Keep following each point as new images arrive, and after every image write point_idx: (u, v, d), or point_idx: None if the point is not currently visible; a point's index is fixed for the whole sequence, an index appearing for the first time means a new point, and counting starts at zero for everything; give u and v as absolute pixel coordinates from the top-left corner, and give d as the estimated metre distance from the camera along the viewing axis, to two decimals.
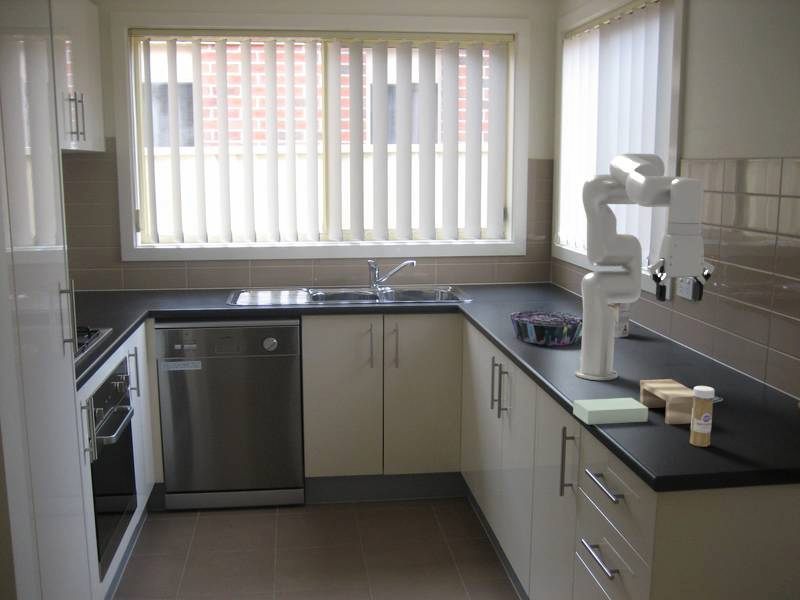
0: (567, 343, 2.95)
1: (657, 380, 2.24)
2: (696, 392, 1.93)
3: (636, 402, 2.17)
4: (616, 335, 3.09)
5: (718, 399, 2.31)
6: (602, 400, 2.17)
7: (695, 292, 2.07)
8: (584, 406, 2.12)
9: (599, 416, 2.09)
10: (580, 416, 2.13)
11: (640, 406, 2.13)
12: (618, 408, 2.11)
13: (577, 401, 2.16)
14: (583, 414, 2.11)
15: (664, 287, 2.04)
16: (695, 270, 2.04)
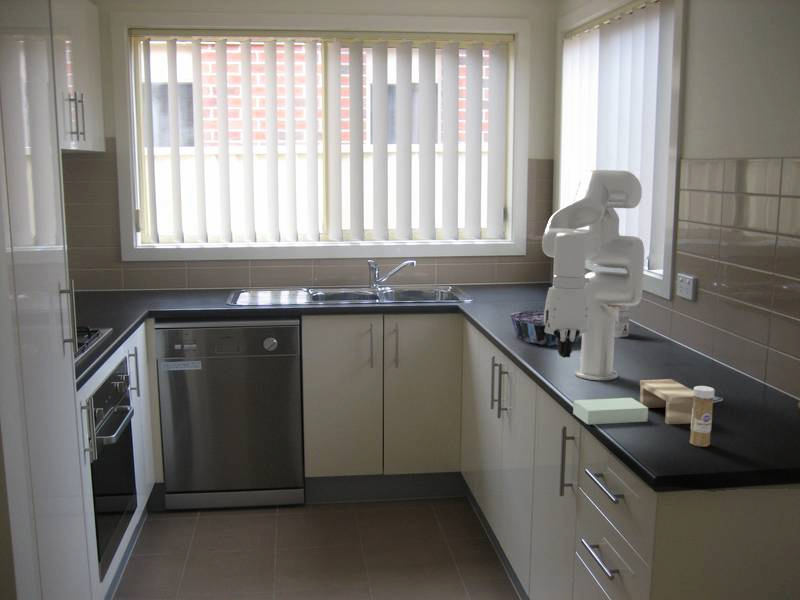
0: None
1: (657, 380, 2.24)
2: (696, 392, 1.93)
3: (636, 402, 2.17)
4: (616, 335, 3.09)
5: (718, 399, 2.31)
6: (602, 400, 2.17)
7: None
8: (584, 406, 2.12)
9: (599, 416, 2.09)
10: (580, 416, 2.13)
11: (640, 406, 2.13)
12: (618, 408, 2.11)
13: (577, 401, 2.16)
14: (583, 414, 2.11)
15: (565, 343, 2.07)
16: (579, 322, 2.06)
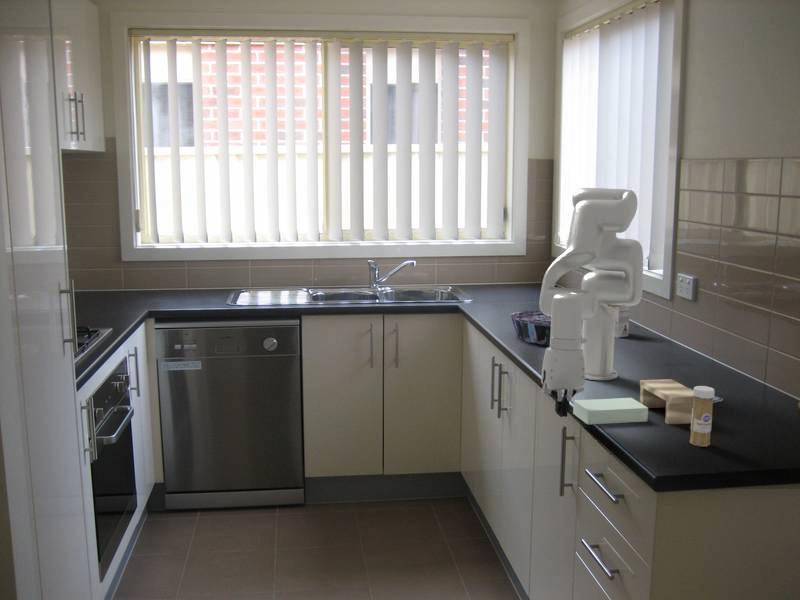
0: None
1: (657, 380, 2.24)
2: (696, 392, 1.93)
3: (636, 402, 2.17)
4: (616, 335, 3.09)
5: (718, 399, 2.31)
6: (602, 400, 2.17)
7: None
8: (584, 406, 2.12)
9: (599, 416, 2.09)
10: (580, 416, 2.13)
11: (640, 406, 2.13)
12: (618, 408, 2.11)
13: (577, 401, 2.16)
14: (583, 414, 2.11)
15: (562, 403, 2.10)
16: (576, 382, 2.09)
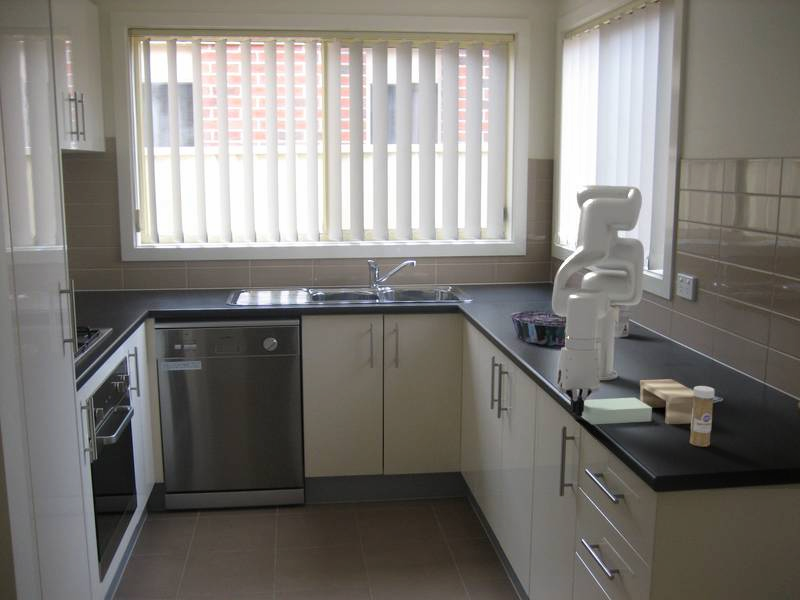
0: None
1: (657, 380, 2.24)
2: (696, 392, 1.93)
3: (640, 401, 2.17)
4: (616, 335, 3.09)
5: (718, 399, 2.31)
6: (606, 400, 2.18)
7: None
8: (588, 406, 2.12)
9: (603, 416, 2.09)
10: (584, 416, 2.13)
11: (644, 406, 2.13)
12: (622, 408, 2.11)
13: None
14: (587, 414, 2.11)
15: (577, 403, 2.11)
16: (591, 382, 2.10)
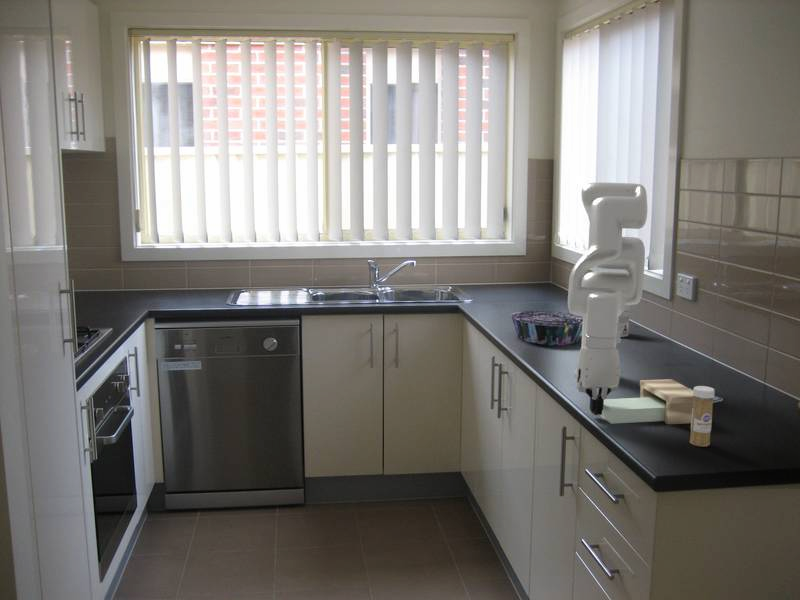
0: (568, 343, 2.95)
1: (657, 380, 2.24)
2: (696, 392, 1.93)
3: (659, 401, 2.18)
4: (616, 335, 3.09)
5: (718, 399, 2.31)
6: (624, 399, 2.18)
7: None
8: (607, 405, 2.13)
9: (623, 415, 2.10)
10: (603, 415, 2.14)
11: (663, 405, 2.14)
12: (641, 407, 2.12)
13: None
14: (606, 413, 2.12)
15: (597, 401, 2.12)
16: (611, 381, 2.11)
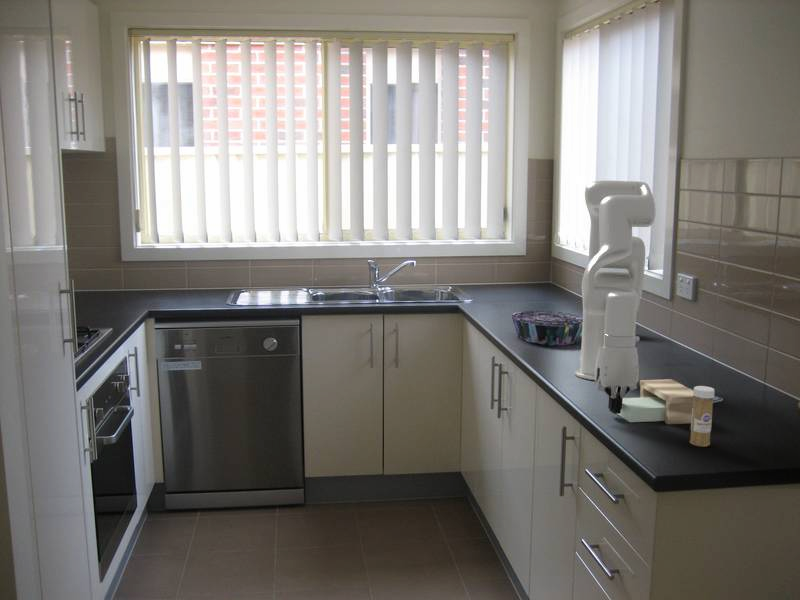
0: (569, 343, 2.95)
1: (657, 380, 2.24)
2: (696, 392, 1.93)
3: None
4: None
5: (718, 399, 2.31)
6: (642, 398, 2.19)
7: None
8: (626, 404, 2.14)
9: (641, 414, 2.11)
10: (621, 414, 2.15)
11: None
12: (660, 406, 2.13)
13: None
14: (625, 412, 2.13)
15: (616, 400, 2.12)
16: (630, 380, 2.12)
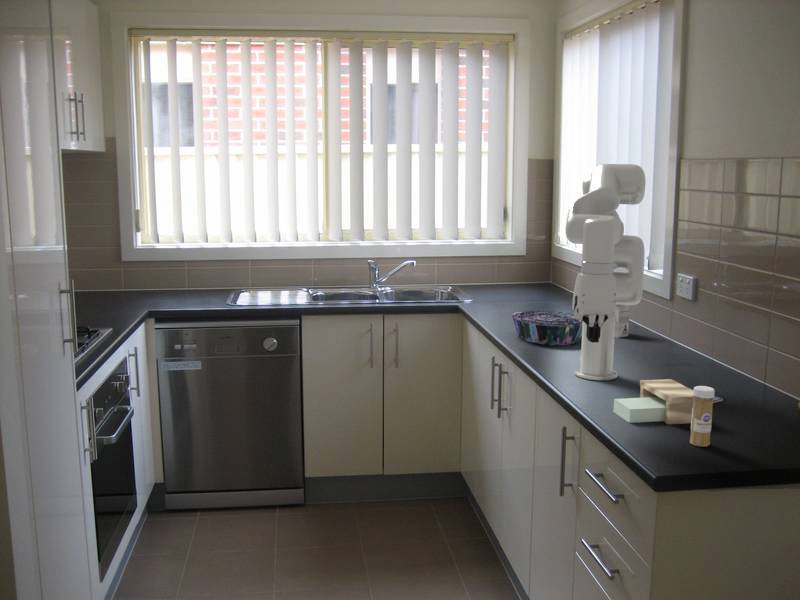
0: (569, 343, 2.95)
1: (657, 380, 2.24)
2: (696, 392, 1.93)
3: None
4: (616, 335, 3.09)
5: (718, 399, 2.31)
6: (642, 399, 2.19)
7: None
8: (625, 404, 2.14)
9: (641, 414, 2.11)
10: (621, 414, 2.15)
11: None
12: (659, 406, 2.13)
13: (618, 400, 2.18)
14: (625, 412, 2.13)
15: (594, 329, 2.10)
16: (608, 308, 2.09)
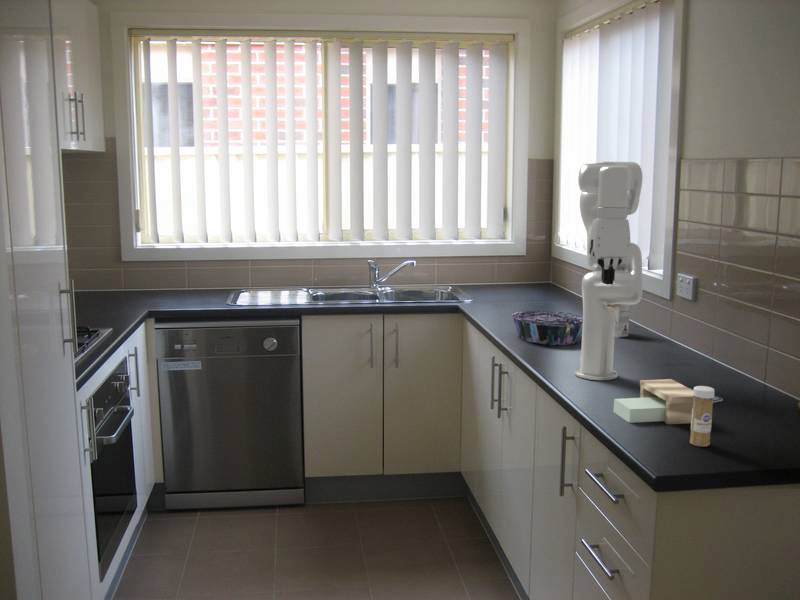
0: (570, 343, 2.95)
1: (657, 380, 2.24)
2: (696, 392, 1.93)
3: None
4: (616, 335, 3.09)
5: (718, 399, 2.31)
6: (642, 399, 2.19)
7: None
8: (625, 404, 2.14)
9: (641, 414, 2.11)
10: (621, 414, 2.15)
11: None
12: (659, 406, 2.13)
13: (618, 400, 2.18)
14: (625, 412, 2.13)
15: (608, 271, 2.22)
16: (622, 251, 2.21)
